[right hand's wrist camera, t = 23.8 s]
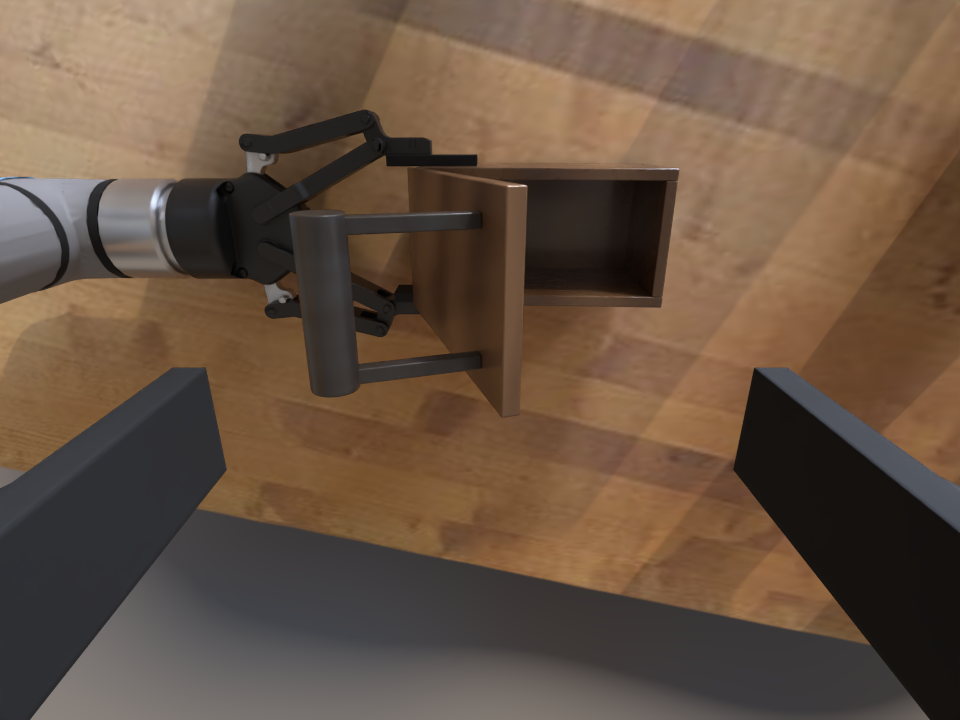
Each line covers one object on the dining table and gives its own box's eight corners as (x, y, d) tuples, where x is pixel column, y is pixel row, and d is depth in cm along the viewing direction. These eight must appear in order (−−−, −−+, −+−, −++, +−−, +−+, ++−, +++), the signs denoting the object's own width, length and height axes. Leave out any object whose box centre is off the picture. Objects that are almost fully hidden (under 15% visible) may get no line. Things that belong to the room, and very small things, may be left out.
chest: (643, 163, 44) (679, 168, 35) (630, 275, 48) (661, 307, 38) (435, 162, 45) (414, 167, 36) (437, 272, 49) (420, 303, 39)
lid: (528, 185, 19) (284, 189, 17) (520, 415, 23) (316, 447, 20) (420, 167, 35) (286, 168, 33) (424, 304, 39) (304, 315, 36)
